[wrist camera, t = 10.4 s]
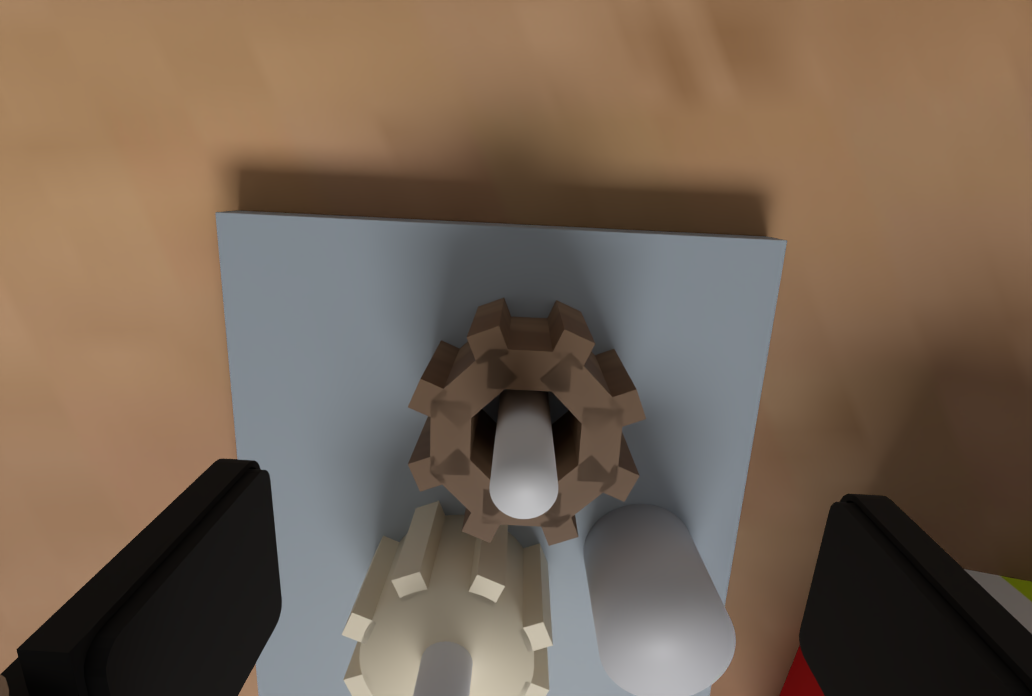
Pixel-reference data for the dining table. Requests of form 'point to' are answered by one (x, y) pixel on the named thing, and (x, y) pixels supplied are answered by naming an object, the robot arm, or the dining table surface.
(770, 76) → the dining table surface
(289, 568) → the gear board
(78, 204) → the dining table surface
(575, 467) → the walnut gear
